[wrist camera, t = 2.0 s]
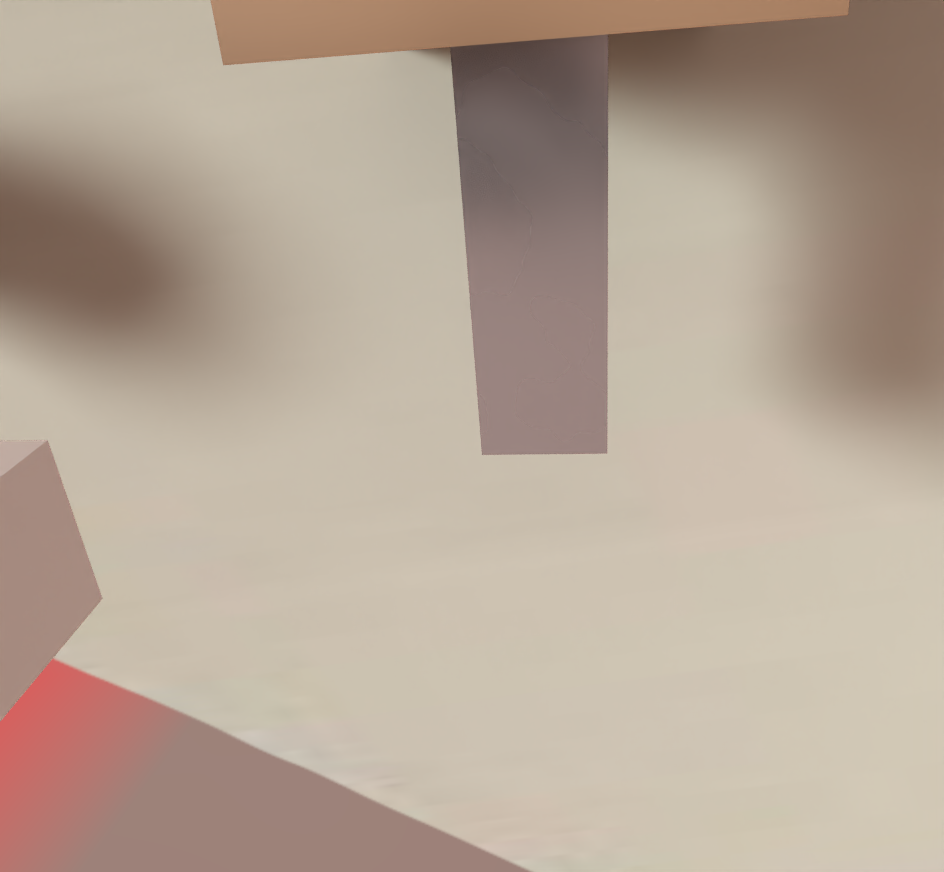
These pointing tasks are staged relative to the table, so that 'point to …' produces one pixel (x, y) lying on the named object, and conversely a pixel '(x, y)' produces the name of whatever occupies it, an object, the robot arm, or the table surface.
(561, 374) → the shaft
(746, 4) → the block
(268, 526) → the table surface
